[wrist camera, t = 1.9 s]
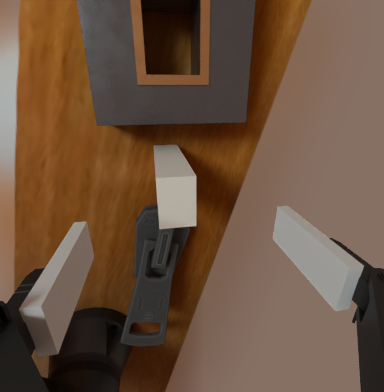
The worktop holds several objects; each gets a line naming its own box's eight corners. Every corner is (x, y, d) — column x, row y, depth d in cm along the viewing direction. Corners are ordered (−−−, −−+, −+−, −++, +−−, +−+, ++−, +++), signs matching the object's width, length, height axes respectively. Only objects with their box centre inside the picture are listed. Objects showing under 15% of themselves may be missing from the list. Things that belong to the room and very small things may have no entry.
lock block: (230, 119, 34) (246, 122, 29) (106, 121, 32) (96, 126, 26) (239, -38, 28) (262, -75, 22) (81, -52, 25) (60, -98, 19)
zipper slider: (116, 347, 39) (137, 219, 31) (120, 314, 45) (139, 200, 37) (167, 347, 42) (200, 227, 33) (165, 316, 48) (192, 208, 39)
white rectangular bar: (177, 176, 36) (196, 225, 22) (155, 177, 36) (159, 229, 21) (176, 144, 35) (196, 175, 20) (153, 145, 34) (155, 178, 19)
